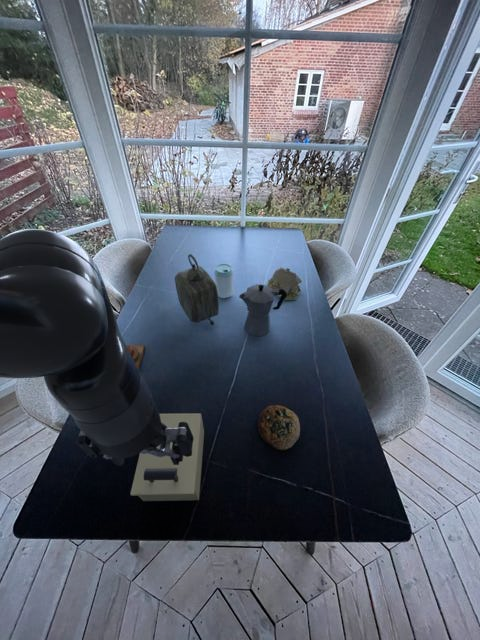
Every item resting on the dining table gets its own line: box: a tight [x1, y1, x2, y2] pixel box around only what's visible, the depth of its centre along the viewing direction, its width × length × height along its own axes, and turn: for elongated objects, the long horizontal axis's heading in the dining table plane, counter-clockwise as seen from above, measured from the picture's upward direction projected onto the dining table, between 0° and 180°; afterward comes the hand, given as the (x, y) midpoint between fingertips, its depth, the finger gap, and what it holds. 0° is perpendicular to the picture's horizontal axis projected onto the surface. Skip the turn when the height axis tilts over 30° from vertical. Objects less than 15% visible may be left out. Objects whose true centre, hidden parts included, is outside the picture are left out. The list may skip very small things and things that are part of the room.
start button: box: [127, 347, 134, 356], centre depth 78 cm, size 4×4×2 cm
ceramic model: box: [267, 267, 303, 301], centre depth 103 cm, size 14×11×10 cm
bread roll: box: [256, 404, 301, 451], centre depth 66 cm, size 11×11×5 cm
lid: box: [129, 413, 202, 497], centre depth 52 cm, size 15×12×5 cm
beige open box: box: [138, 415, 205, 502], centre depth 58 cm, size 15×12×9 cm
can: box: [213, 263, 234, 299], centre depth 100 cm, size 7×7×12 cm
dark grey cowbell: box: [174, 253, 220, 326], centre depth 86 cm, size 14×9×25 cm, turn 31°
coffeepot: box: [238, 283, 287, 337], centre depth 86 cm, size 15×9×18 cm, turn 101°
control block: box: [125, 344, 146, 373], centre depth 79 cm, size 10×7×4 cm
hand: (150, 458), depth 41 cm, fingers open, 8 cm apart
